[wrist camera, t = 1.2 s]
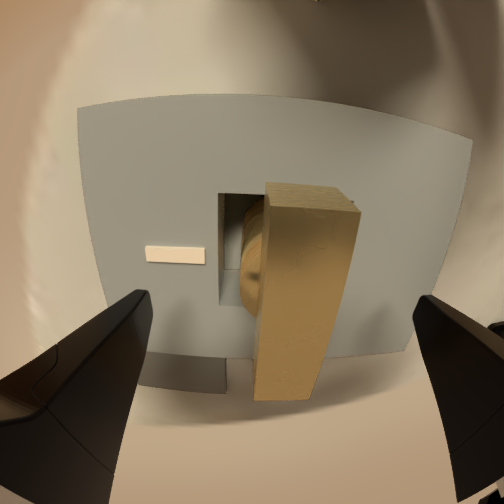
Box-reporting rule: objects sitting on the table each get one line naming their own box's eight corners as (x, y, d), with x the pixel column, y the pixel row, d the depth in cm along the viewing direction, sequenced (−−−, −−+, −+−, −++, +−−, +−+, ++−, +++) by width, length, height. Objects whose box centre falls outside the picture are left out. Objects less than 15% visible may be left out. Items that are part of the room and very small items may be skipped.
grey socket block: (436, 130, 11) (475, 141, 8) (387, 318, 17) (404, 353, 14) (110, 106, 11) (74, 108, 8) (136, 313, 16) (120, 350, 14)
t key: (316, 158, 12) (384, 214, 6) (299, 287, 16) (324, 398, 9) (245, 153, 12) (241, 204, 6) (240, 285, 15) (236, 400, 9)
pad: (224, 325, 17) (224, 330, 16) (226, 389, 20) (226, 394, 20) (117, 316, 17) (115, 320, 16) (139, 381, 20) (138, 384, 20)
